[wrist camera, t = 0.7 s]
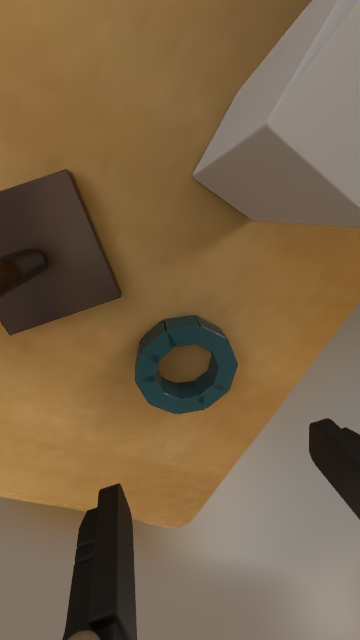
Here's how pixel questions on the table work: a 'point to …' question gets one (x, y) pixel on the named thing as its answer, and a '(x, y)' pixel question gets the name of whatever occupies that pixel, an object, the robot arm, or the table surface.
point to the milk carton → (296, 126)
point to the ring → (189, 393)
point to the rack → (49, 254)
